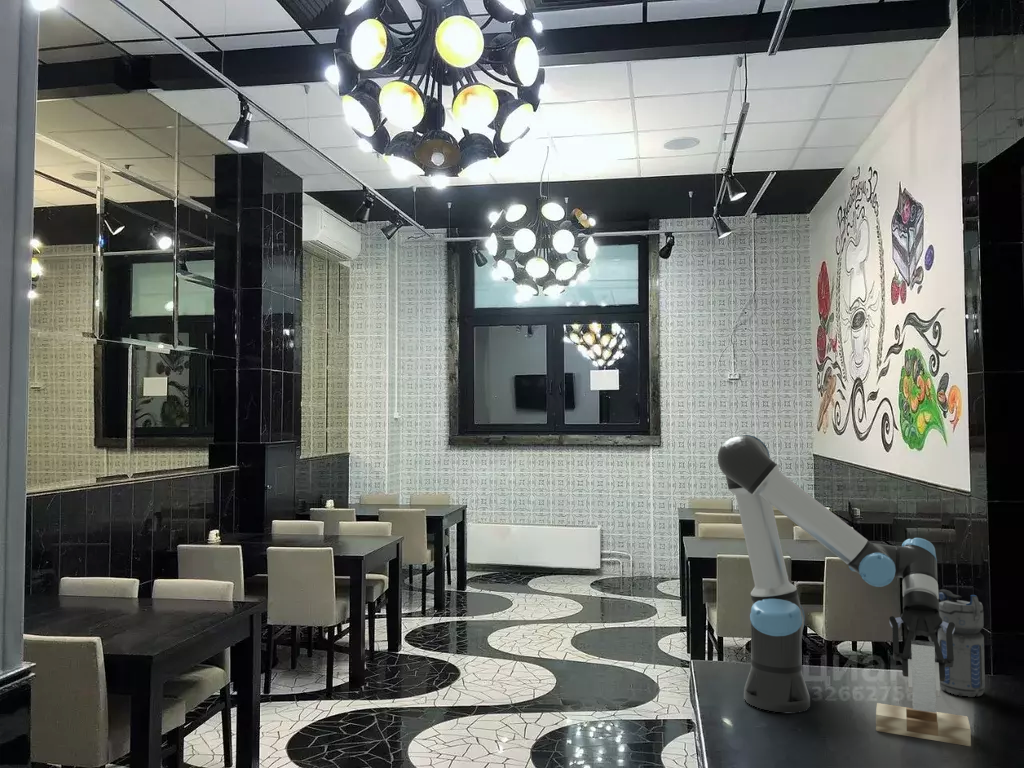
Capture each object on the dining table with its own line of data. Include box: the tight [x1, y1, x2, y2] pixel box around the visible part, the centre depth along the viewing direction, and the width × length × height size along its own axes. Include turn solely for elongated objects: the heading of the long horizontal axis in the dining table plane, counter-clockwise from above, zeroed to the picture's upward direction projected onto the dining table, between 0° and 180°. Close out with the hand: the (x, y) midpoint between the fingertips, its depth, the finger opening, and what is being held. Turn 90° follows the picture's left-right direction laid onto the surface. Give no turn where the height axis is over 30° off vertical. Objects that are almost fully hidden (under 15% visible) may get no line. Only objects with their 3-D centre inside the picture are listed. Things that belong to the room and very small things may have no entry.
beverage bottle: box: [937, 588, 986, 698], centre depth 199 cm, size 10×13×25 cm
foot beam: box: [875, 702, 972, 747], centre depth 172 cm, size 18×8×4 cm, turn 64°
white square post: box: [910, 639, 937, 713], centre depth 173 cm, size 4×4×14 cm
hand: (924, 691), depth 169 cm, fingers closed on white square post, 4 cm apart
